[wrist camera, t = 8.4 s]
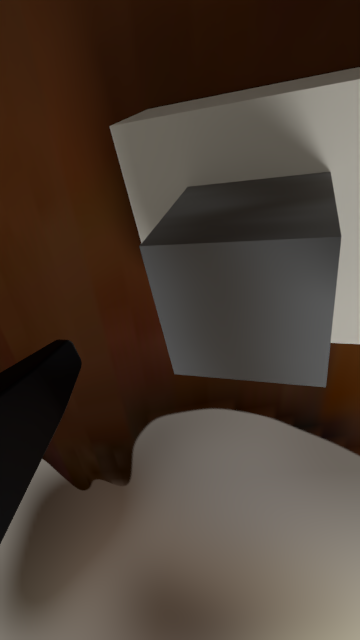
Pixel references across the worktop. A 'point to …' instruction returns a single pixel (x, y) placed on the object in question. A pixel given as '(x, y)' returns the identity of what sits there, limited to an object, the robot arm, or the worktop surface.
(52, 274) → the worktop surface
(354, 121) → the cream base block
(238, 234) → the charcoal cube
